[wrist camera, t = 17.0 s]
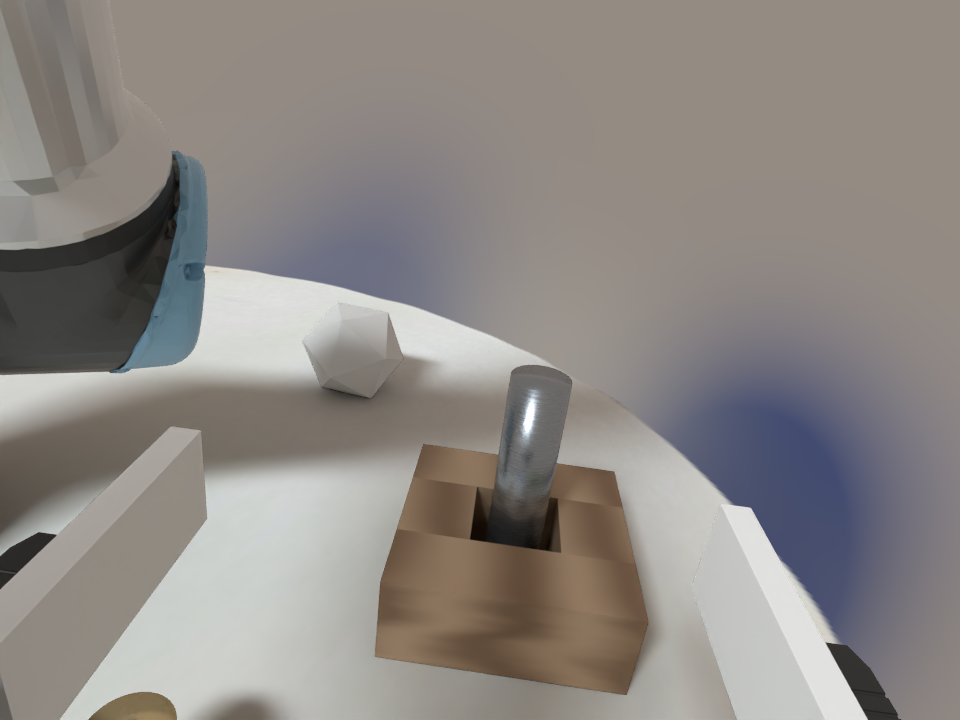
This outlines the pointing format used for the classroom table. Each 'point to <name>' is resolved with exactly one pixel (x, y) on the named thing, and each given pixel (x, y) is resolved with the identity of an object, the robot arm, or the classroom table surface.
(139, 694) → the short brass pin
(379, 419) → the classroom table surface
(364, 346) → the die
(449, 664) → the hole block
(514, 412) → the long metal pin
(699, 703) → the classroom table surface
